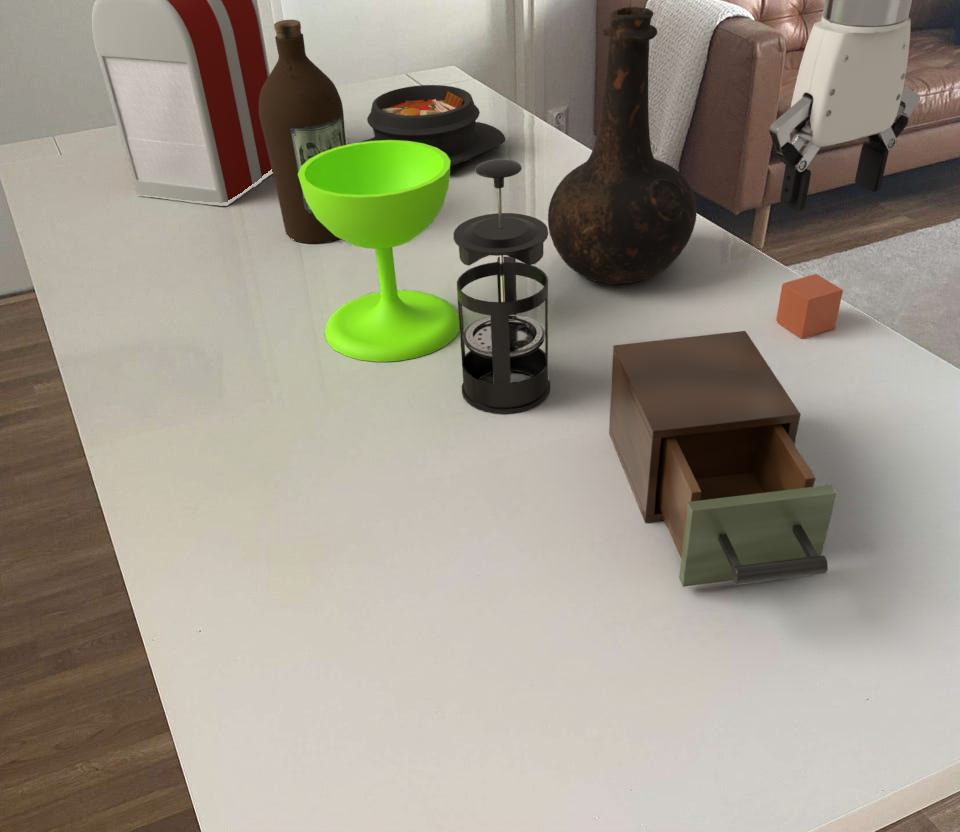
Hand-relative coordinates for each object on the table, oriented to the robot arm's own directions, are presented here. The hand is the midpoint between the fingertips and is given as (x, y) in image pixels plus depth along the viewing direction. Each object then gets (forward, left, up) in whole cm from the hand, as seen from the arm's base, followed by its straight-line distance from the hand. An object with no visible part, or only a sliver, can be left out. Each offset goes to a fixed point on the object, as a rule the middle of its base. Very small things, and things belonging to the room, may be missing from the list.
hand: (829, 196), depth 103 cm
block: (0, 0, -14) cm, 14 cm away
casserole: (+37, -63, -14) cm, 74 cm away
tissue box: (+70, -63, -14) cm, 95 cm away
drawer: (+20, +37, -13) cm, 44 cm away
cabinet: (+20, +24, -14) cm, 34 cm away
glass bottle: (+17, -19, -14) cm, 29 cm away
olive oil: (+54, -40, -14) cm, 69 cm away
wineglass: (+46, -10, -14) cm, 49 cm away
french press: (+35, +6, -14) cm, 38 cm away
